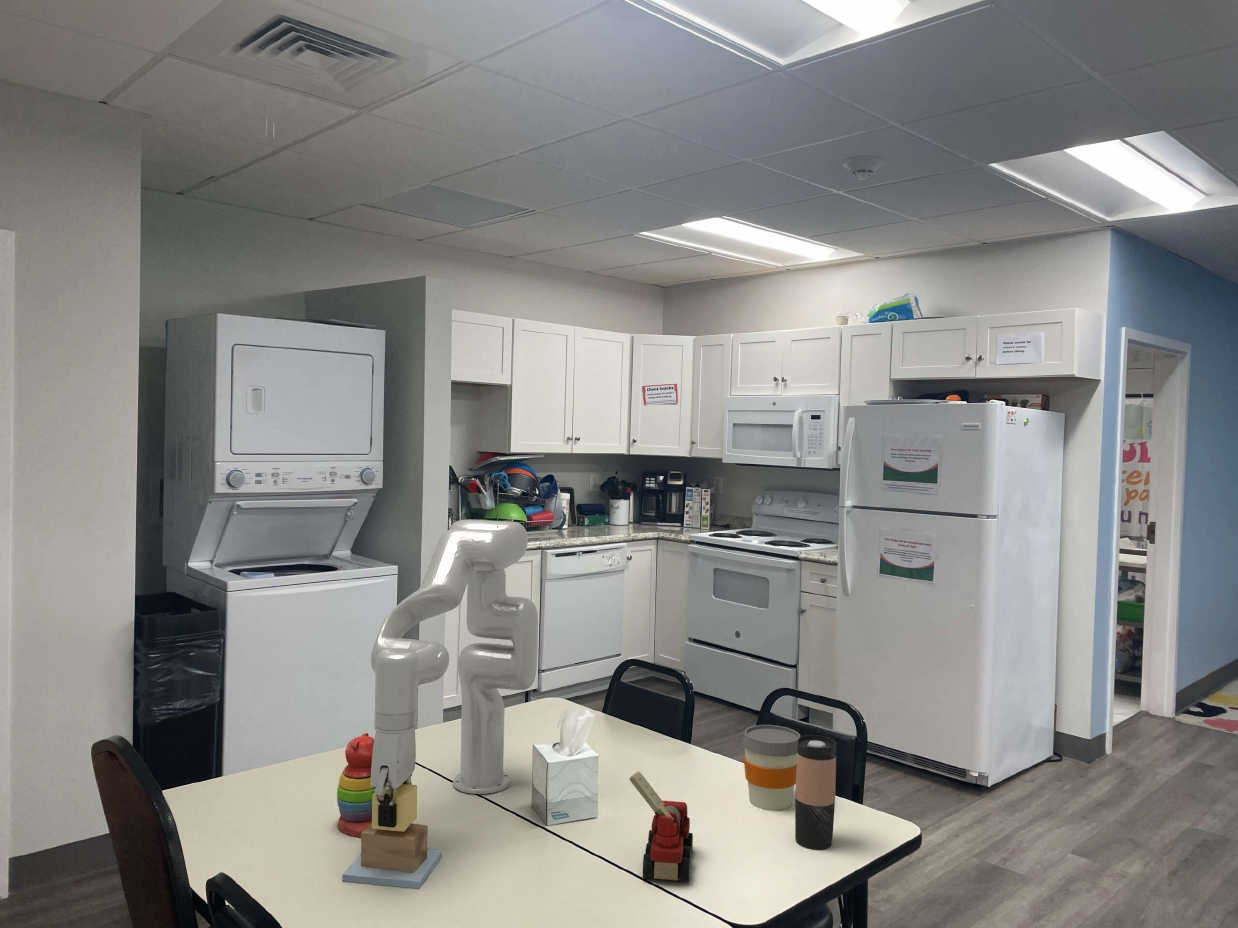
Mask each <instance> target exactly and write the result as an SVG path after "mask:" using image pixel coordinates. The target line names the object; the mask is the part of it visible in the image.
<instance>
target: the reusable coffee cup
mask: <svg viewBox="0 0 1238 928" xmlns="http://www.w3.org/2000/svg"><path fill="white" fill-rule="evenodd" d="M800 737H801V734H800V733H799V732H798V731H796V730H795V729H792V728H790V727H786V726H780V725H774V724H773V725H772V724H758V725H752V726H749V727H747V728H745V730H744V734H743V739H742V740H743V741H742V746H743V748H744V756H743V764H744V766H743V767H744V774H745V775H744V776H745V777H744V778H745V779H746V781H747V787H748V797H749V803H750V804H751V805H752V806H753V807H756V808H759V809H761V810H767V811H783V810H786V809H789V808H790V807H791V805H792V803H793V802H792V801H793V793H794V788H795V786H796V768H797V744H798V739H799V738H800Z"/></svg>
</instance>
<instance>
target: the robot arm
mask: <svg viewBox="0 0 1238 928" xmlns="http://www.w3.org/2000/svg"><path fill="white" fill-rule="evenodd" d="M528 544H529V537H528V532H527V529H526V528H525V526H523V525H522V523H520V522H518V521H517V522H516V521H508V520H507V521H505V520H504V521H503V520H487V519H461V520H457V521H455V522H454V523H452V524H451V526H450V528H449V529H448V530H445V531H444V532H443V533H442V534H441V535H440V537H439V538H438V541H437V543H436V546H435V548H434V551H433V554H432V556H431V559H430V562H429V564H428V566H427V570H426V571H425V574H424V577H423V580H422V582H421V585H420V586H419V588H418V589H417V590H415V591H414V592H413V593H411V594H410V595H408V596H407V597H405V598H404V599H403V600H402V601H400V602H399V603H398V604H397V605H396V606H395V607H394V608H393V609H392V610H391V611H390V612H389V613H388V614H387V615H386V617H385V618H384V620H383V622H382V624H381V626H380V628H379V630H378V634H377V636H376V638H375V640H374V643H373V646H372V650H371V653H370V654H371V655H370V665H371V668H372V671H373V672H374V674H375V675H374V676H375V683H374V684H375V685H374V687H375V688H374V690H375V691H374V730H375V733H374V734H375V735H374V745H373V754H372V768H371V786H372V787H373V788H375V787H376V789H375V796H376V797H377V800H378V801H377V804H378V826H381V827H393V828H394V827H395V826H396V817H397V804H394V803H395V797H396V790H397V788H398V787H399V786H400V785H401V784H410V785H413V784H412V776H413V773H414V771H415V770H416V769H415V768H416V759H417V757H416V755H417V753H416V752H417V751H416V750H417V749H416V746H417V745H416V729H417V728H418V725H419V724H418V721H419V719H418V716H419V714H418V713H419V686H420V685H425V684H430V683H435V682H436V681H437V680H440V679H441V678H442V677H443V676H444V675H445V673H446V672H447V670H448V667H449V665H450V654H449V651H448V649H447V648H446V646H444V645H443V644H442V643H440V642H438V641H432V640H422V639H421V640H420V639H416V638H415V639H413V638H403V637H404V635H405V634H406V633H407V632H408V631H409V630H410V629H411V628H413V627H414V626H416V625H417V624H419V623H421V622H423V621H426V620H428V619H431V618H434V617H436V616H440V615H443V614H445V613H447V612H450V611H453V610H454V609H457V608H458V607H459V606H460V604H461V603H462V600H463V597H464V594H465V591H467V592H466V628H467V631H468V633H469V634H471V635H472V636H474V637H476V638H484V639H491V640H493V639H495V640H506V641H507V640H508V641H511V642H512V645H508V644H498V643H488V642H487V643H486V642H485V643H484V642H476V643H470V644H468V645H467V646H465V647H463V648H462V650H461V651H460V652H459V656H458V660H457V670H458V677H459V683H460V690H461V691H460V692H461V722H460V723H461V724H460V726H461V727H460V729H461V730H460V731H461V732H460V770H459V771H460V773H458V774H456V775H455V776H454V777H453V780H452V782H453V783H452V784H453V787H454V788H455V789H456V790H457V791H460V792H462V793H466V794H471V795H486V794H487V795H488V794H493V793H497V792H500V791H503V790H505V789H506V788H507V787H509V785H510V783H511V777H510V775H509V774H508V773H507V772H505V771H504V757H505V756H504V751H505V749H504V747H505V746H504V745H505V710H506V709H505V704H504V699H503V698H502V695H501V694H500V692H499V690H501V689H502V690H509V691H511V690H512V691H525V690H529V689H531V687H532V686H533V685H534V682H535V680H536V676H537V669H538V668H537V667H538V638H539V637H538V635H539V632H538V631H539V616H538V609H537V607H536V604H535V603H534V602H533V600H531V599H529V598H527V597H521V596H508V595H507V592H506V591H507V590H506V584H507V583H506V581H507V580H506V579H507V577H506V576H507V574H506V570H505V569H506V568H508V567H510V566H513V564H515V563H517V562H519V561H520V560H521V559H522V558H523V557H524V555H525V553H526V550H527V549H528ZM466 588H467V589H466ZM498 689H499V690H498ZM387 783H392V786H386V784H387ZM385 790H391V796H389V794H387V793H386V791H385Z"/></svg>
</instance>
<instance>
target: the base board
mask: <svg viewBox="0 0 1238 928" xmlns="http://www.w3.org/2000/svg"><path fill="white" fill-rule="evenodd" d="M443 851H444V850H443V849H441V850H440V849H433V848H432V849H430V848H427V859H426V860H425V861H424V862H423V863H422V864H421V865H420V866H419V867H418V868H417V870H416V871H415V872H414V873H407V872H400V871H392V870H385V869H377V868H370V867H362V866H361V854H360V855H359V856H358V857H357V858H356V859H355V860H354V861H353V862H352V864H350V866H349V867H348V868H347V869H346V870H345V871H344V872H343V873H342V875H341V876H342V877H341V878H342V879H341V881H342V882H347V883H355V884H356V883H359V884H366V885H367V884H368V885H379V886H385V887H387V886H388V887H396V888H397V887H398V888H408V889H415V890H416V889H418V890H419V889H420V888H421V887H422V885H424V883H425V881H426V880H427V879H428V877H429V876H430V874H431V873H432V872H433V871H434V869H435V868H436V866H437V865H439V863H440V861H441V859H442V858H443Z"/></svg>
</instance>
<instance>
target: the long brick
mask: <svg viewBox="0 0 1238 928" xmlns="http://www.w3.org/2000/svg"><path fill="white" fill-rule="evenodd" d="M428 827H429V825H428V824H427V825H426V824H422V823H421V824H419V823H414V822H412V823H411V825H410V826H409V827H408V828H407V829H406V830H405V831H404V832H403V831H392V830H381V829H372V824H371V825H370V826H369V827H368V828H367V829H365V830H364V831H363V832H362V833H361V837H360V855H361V866H362V867H370V868H377V869H385V870H392V871H400V872H407V873H414V872H415V871H416V870H417V868H418V867H419V866H420V865H421V864H422V863H423V862H424V861H425V860H426V859H427V849H428V838H429V835H428V833H429V832H428V831H429V828H428Z"/></svg>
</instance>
